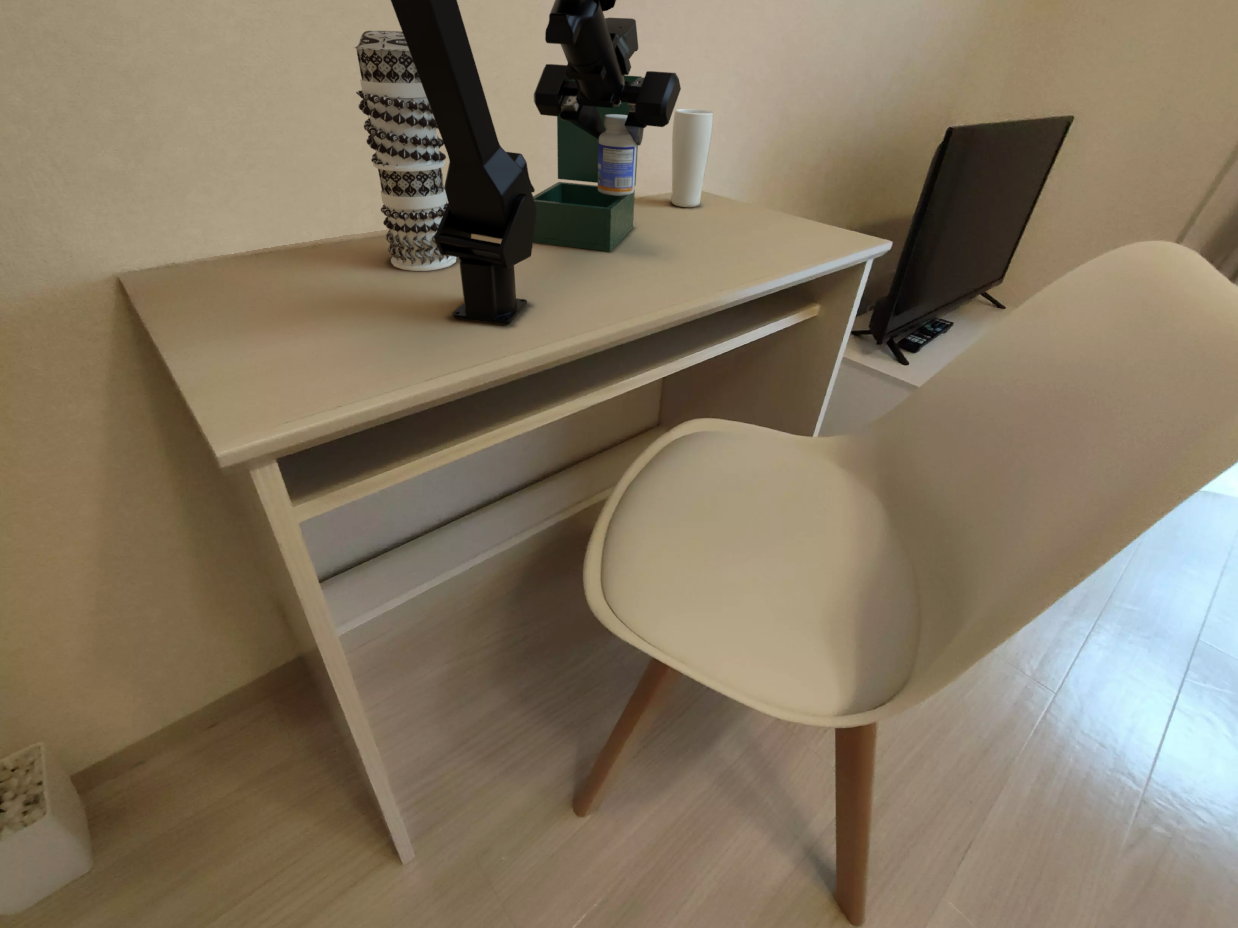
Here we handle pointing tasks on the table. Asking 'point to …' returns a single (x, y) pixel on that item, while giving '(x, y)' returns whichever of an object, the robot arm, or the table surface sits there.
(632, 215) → the green open box
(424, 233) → the black and white cylinder
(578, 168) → the green box lid
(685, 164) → the white tumbler
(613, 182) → the pill bottle
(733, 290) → the table surface
